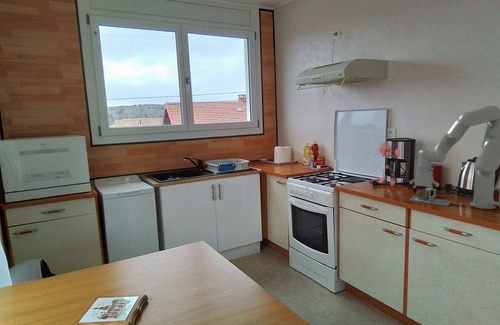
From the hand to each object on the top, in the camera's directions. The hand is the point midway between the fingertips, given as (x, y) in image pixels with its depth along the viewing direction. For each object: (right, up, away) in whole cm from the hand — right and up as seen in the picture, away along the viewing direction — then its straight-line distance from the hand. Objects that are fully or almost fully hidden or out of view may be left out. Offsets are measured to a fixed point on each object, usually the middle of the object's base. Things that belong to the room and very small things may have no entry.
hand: (423, 194), depth 207 cm
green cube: (+11, -2, +11) cm, 16 cm away
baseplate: (+3, -4, -2) cm, 6 cm away
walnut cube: (0, -3, +1) cm, 3 cm away
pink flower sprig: (-5, +3, +49) cm, 49 cm away
